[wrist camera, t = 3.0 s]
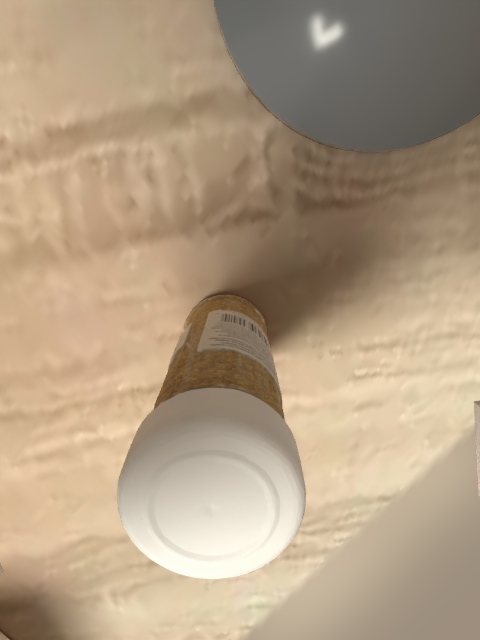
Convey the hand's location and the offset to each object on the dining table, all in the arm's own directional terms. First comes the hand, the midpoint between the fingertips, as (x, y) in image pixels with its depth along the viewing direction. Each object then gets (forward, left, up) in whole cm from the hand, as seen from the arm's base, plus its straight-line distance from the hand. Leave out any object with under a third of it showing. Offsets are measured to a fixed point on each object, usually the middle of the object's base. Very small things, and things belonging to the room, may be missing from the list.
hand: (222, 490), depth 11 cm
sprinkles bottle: (0, 0, -13) cm, 13 cm away
